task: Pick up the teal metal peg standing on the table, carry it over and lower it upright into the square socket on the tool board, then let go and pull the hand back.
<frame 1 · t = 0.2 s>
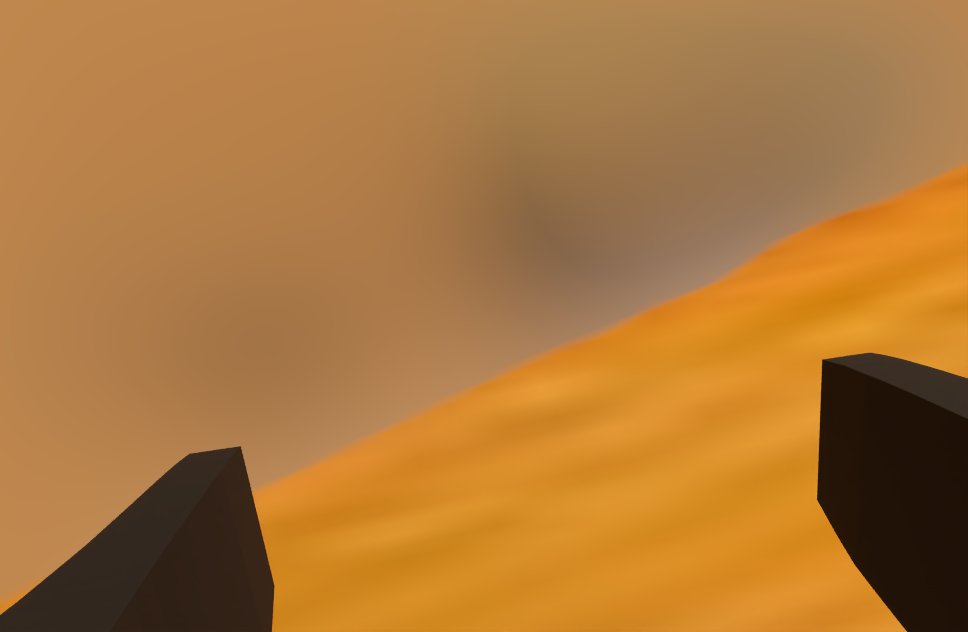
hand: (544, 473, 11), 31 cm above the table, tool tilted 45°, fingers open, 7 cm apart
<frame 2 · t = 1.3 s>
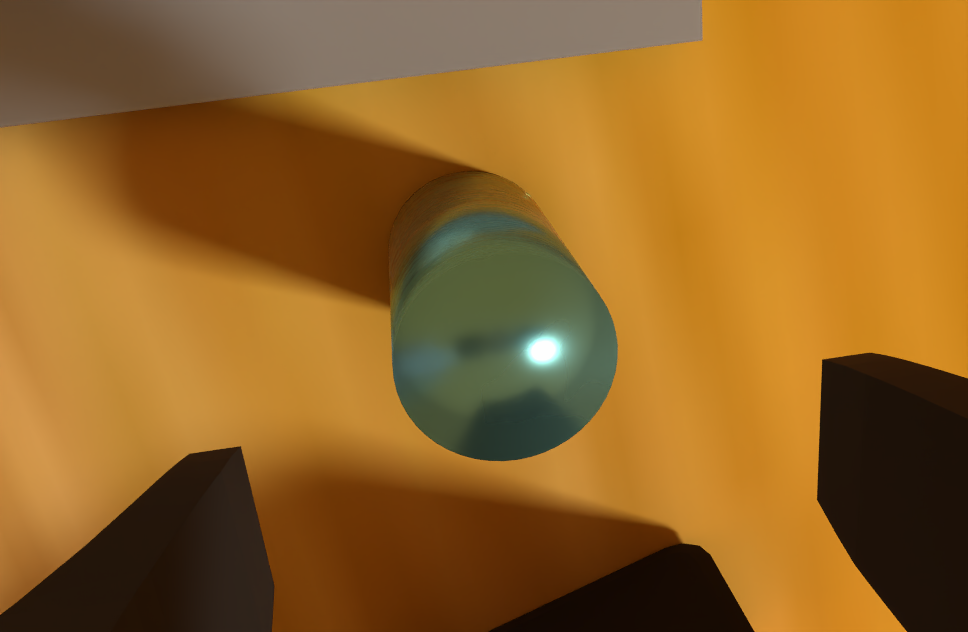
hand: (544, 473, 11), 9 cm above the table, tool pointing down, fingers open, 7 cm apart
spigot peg: (470, 251, 20), on the table
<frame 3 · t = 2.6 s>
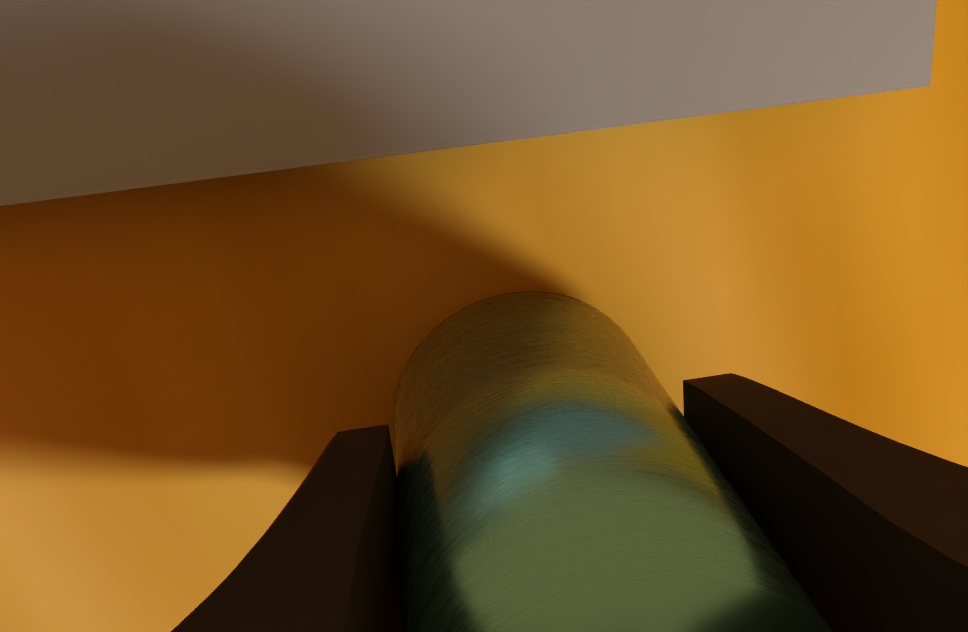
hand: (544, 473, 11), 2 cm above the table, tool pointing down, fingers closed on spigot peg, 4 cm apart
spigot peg: (523, 412, 12), on the table, touching gripper
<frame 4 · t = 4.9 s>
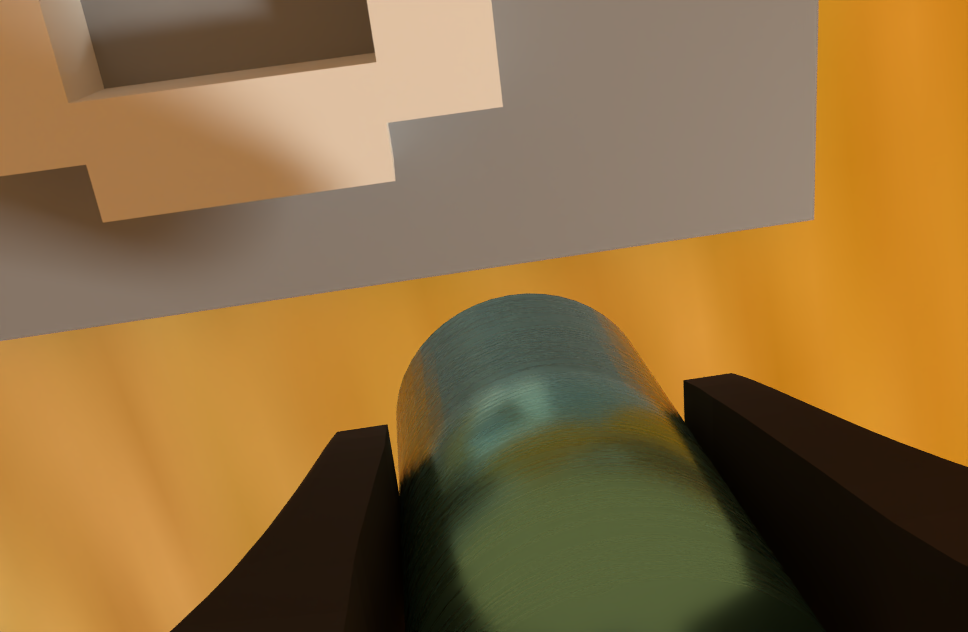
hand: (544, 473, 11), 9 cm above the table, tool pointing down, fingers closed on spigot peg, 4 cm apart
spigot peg: (524, 413, 13), point 7 cm above the table, touching gripper
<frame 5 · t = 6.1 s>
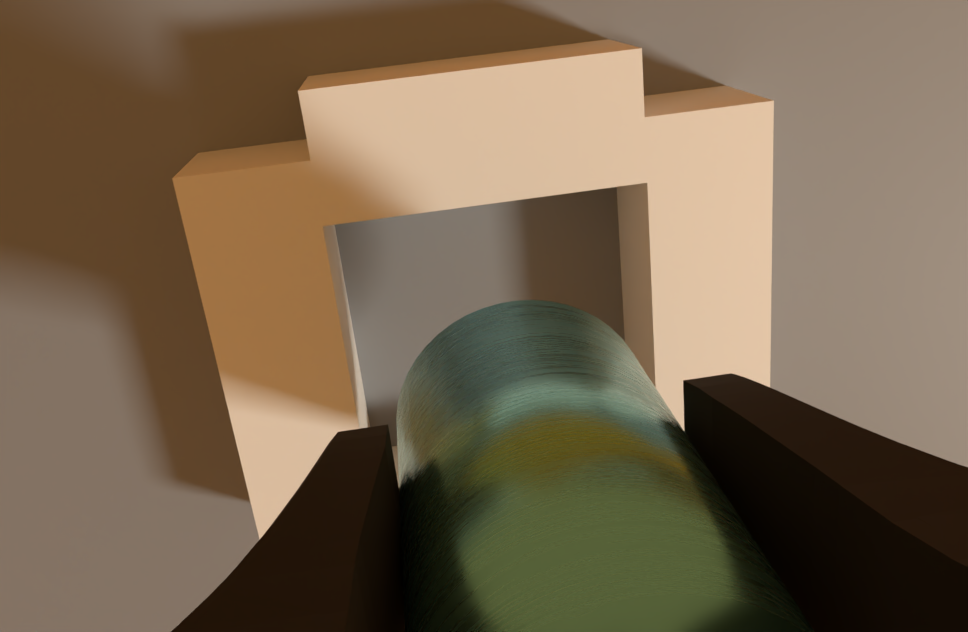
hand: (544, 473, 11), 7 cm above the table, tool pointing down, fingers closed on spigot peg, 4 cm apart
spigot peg: (523, 418, 13), point 5 cm above the table, touching gripper
tool board: (482, 292, 17), on the table
when the fingers open (3 cm above the table, at t = 7.2 s): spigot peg stays where it is, resting on tool board.
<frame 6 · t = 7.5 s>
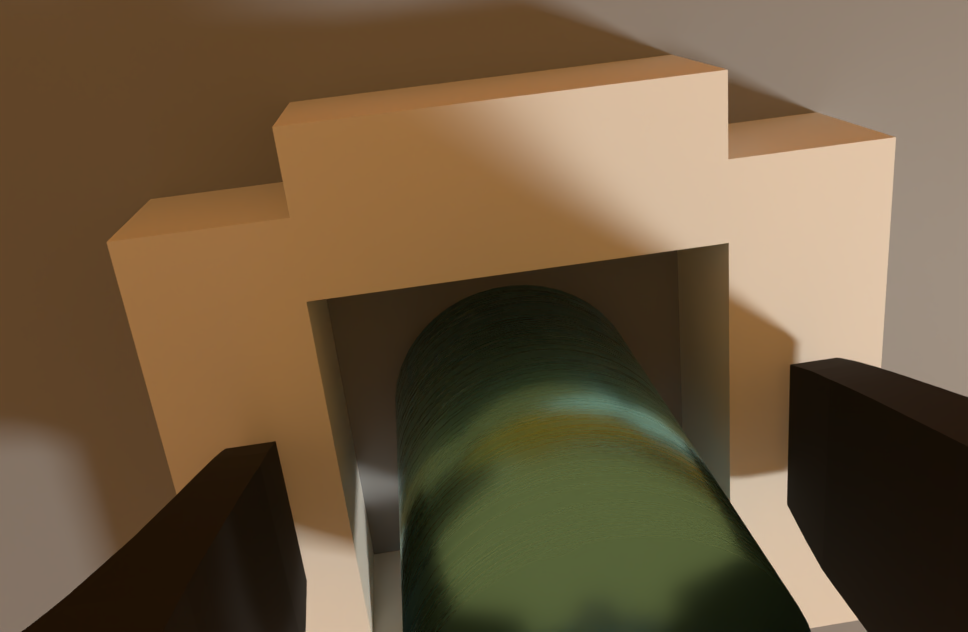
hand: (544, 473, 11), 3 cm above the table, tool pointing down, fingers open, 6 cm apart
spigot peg: (516, 399, 13), point 1 cm above the table, touching tool board
tool board: (507, 361, 14), on the table
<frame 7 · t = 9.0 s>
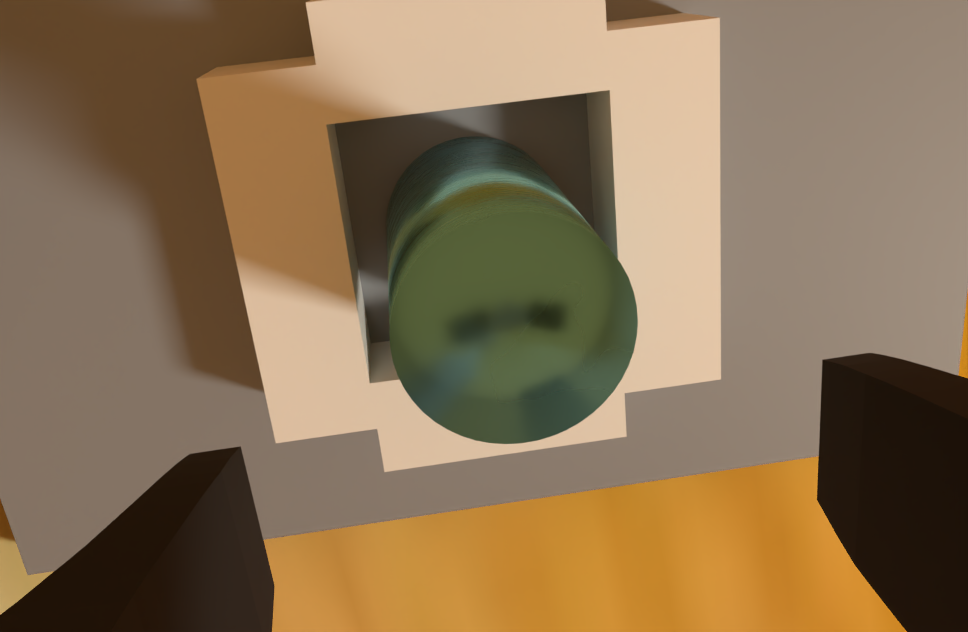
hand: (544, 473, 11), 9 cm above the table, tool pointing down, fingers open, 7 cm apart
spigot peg: (473, 223, 18), point 1 cm above the table, touching tool board
tool board: (469, 204, 19), on the table
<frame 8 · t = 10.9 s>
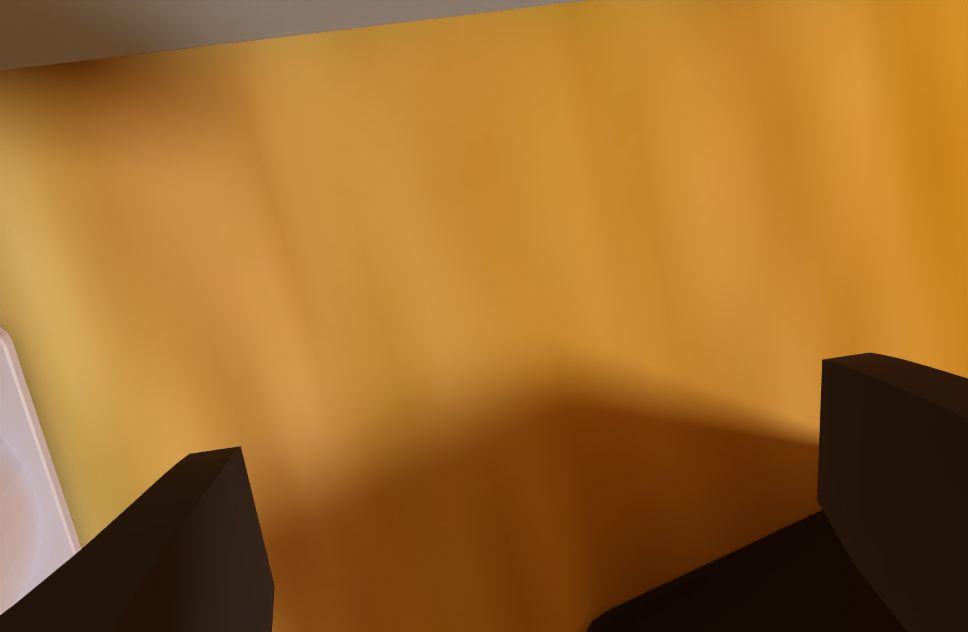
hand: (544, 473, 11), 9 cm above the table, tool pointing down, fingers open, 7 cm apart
electronic device: (766, 594, 24), on the table
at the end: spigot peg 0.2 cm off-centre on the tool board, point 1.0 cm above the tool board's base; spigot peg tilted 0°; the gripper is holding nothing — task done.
